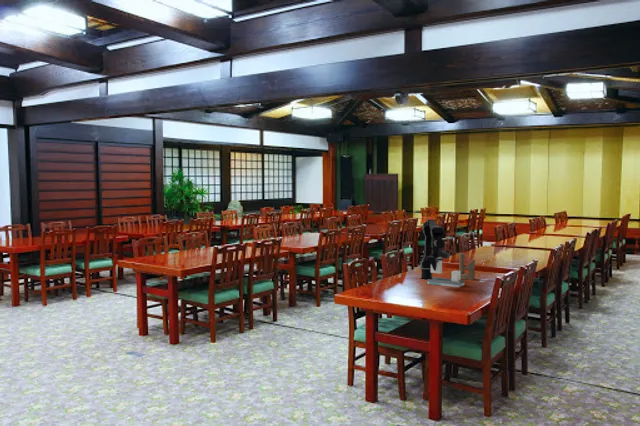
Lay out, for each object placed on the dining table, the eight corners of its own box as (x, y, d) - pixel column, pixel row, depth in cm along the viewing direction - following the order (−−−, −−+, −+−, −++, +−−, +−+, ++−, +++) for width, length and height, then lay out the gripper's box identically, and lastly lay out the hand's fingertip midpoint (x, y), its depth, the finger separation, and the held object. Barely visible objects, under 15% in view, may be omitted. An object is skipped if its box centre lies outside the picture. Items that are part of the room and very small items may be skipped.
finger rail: (427, 283, 353) (427, 269, 353) (433, 281, 362) (433, 267, 361) (459, 287, 341) (459, 272, 340) (464, 284, 349) (464, 270, 348)
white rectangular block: (430, 272, 340) (430, 260, 340) (433, 271, 344) (433, 259, 344) (439, 273, 337) (439, 261, 336) (442, 272, 340) (442, 260, 340)
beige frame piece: (472, 280, 365) (473, 254, 364) (458, 278, 371) (458, 253, 370) (474, 279, 368) (475, 254, 367) (460, 277, 374) (460, 252, 373)
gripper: (442, 248, 327) (442, 273, 328) (454, 245, 342) (454, 269, 343) (425, 247, 334) (425, 271, 335) (438, 244, 349) (438, 267, 350)
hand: (436, 270), depth 340 cm, fingers closed on white rectangular block, 4 cm apart
